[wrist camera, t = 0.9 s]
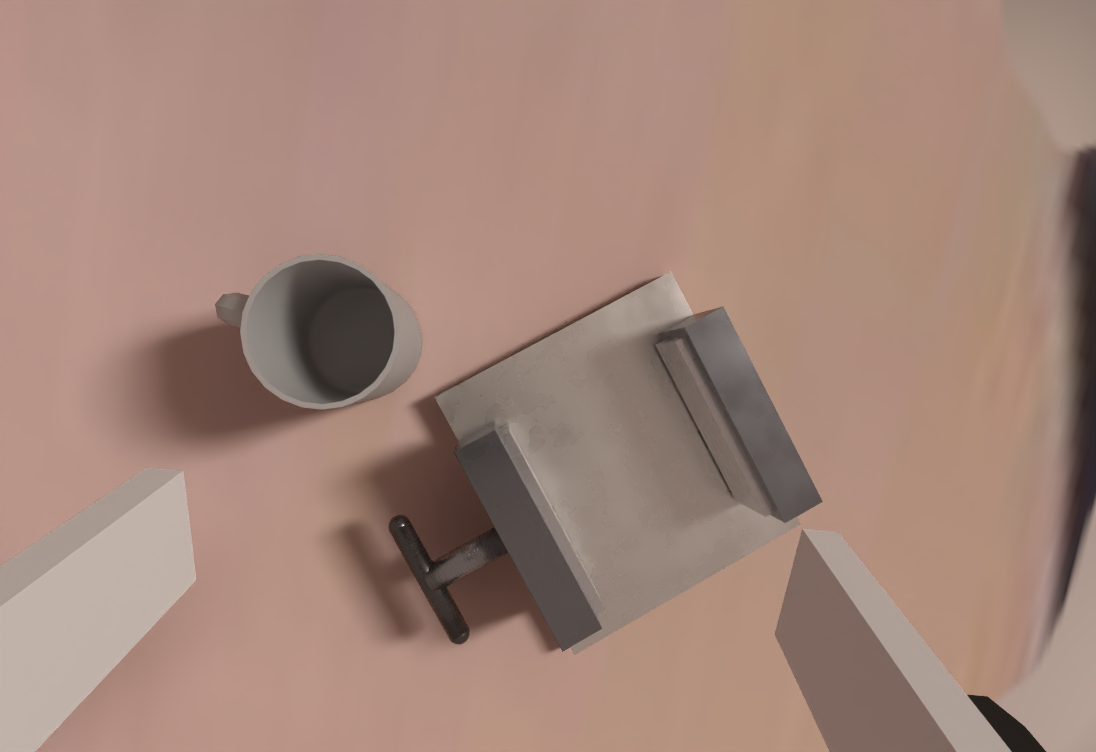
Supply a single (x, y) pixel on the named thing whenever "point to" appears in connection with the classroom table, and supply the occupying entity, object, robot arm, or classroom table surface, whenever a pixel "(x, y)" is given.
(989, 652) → the classroom table surface
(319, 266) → the cup
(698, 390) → the vise
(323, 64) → the classroom table surface
